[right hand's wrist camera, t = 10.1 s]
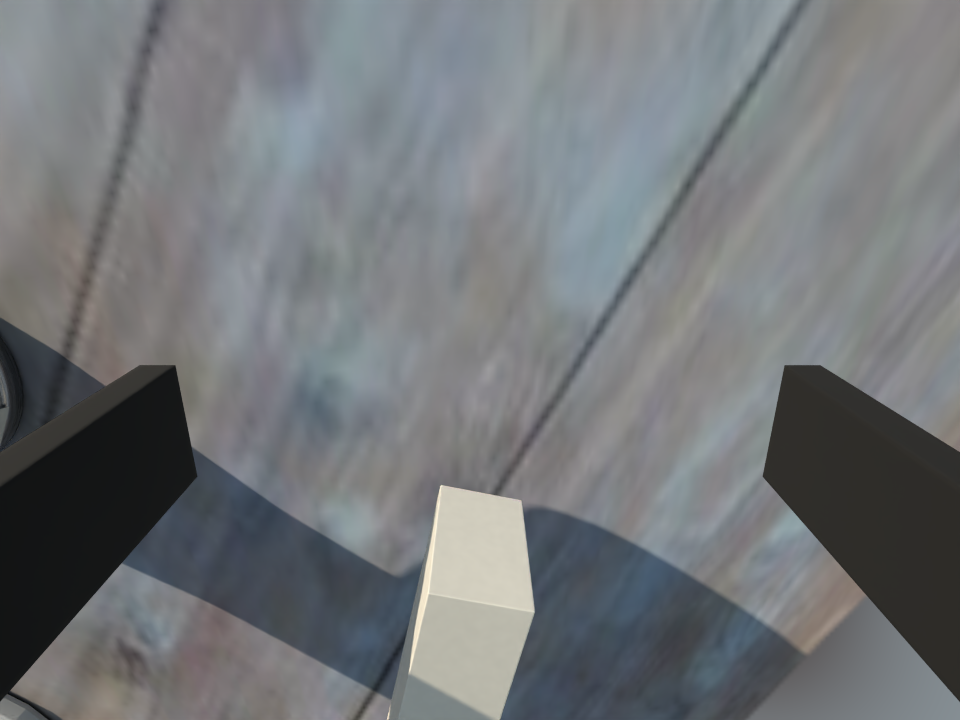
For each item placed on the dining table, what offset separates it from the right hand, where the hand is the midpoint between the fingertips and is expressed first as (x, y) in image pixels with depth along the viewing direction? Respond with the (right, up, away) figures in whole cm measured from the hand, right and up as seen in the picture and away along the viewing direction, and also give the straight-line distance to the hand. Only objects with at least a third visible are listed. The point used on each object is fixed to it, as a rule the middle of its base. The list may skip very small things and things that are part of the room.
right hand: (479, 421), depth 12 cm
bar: (-3, -20, +23) cm, 30 cm away
